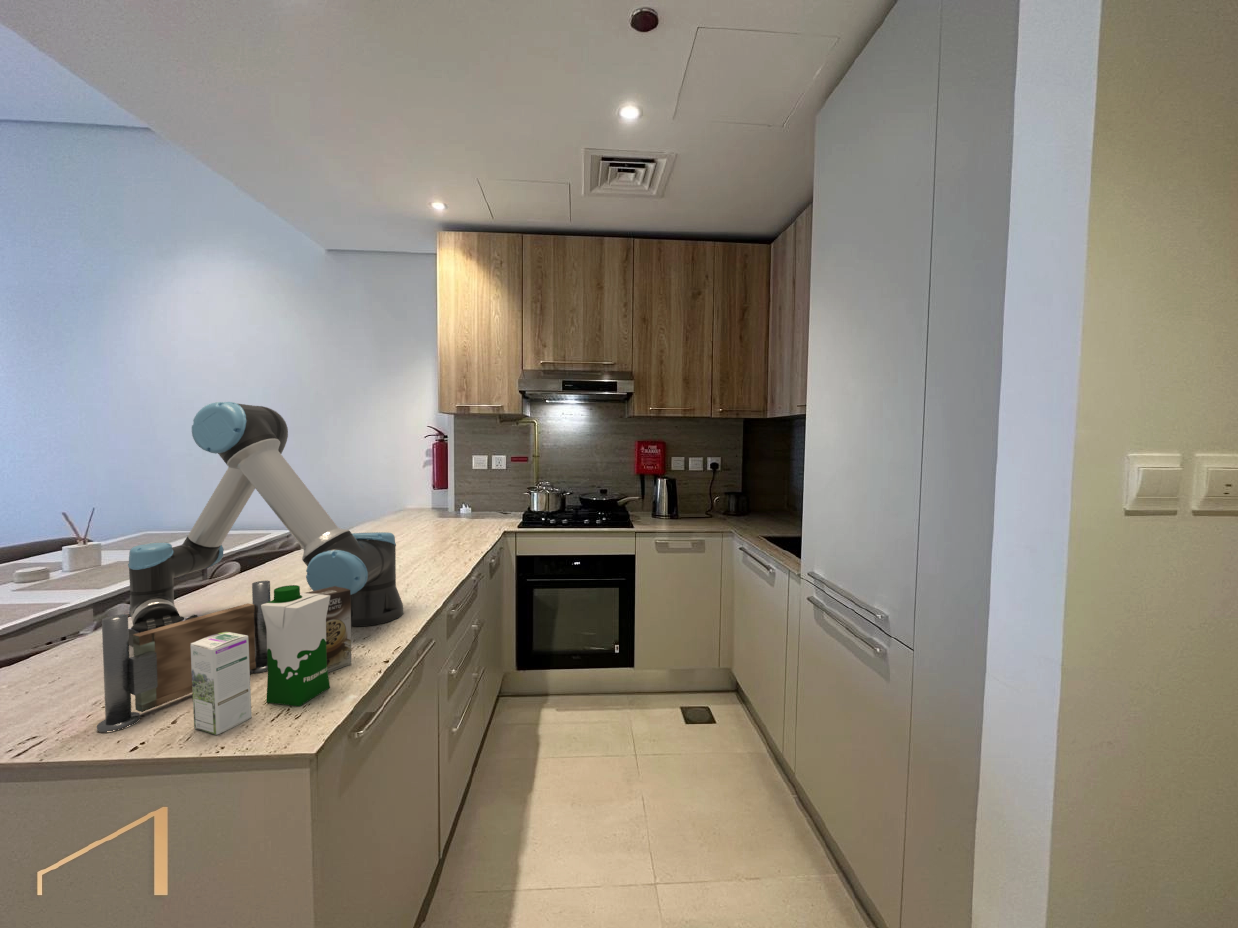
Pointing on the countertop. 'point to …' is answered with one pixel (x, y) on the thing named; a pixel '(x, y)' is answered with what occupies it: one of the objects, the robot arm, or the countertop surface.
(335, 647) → the brown cookie box
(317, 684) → the milk carton
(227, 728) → the syrup box
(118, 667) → the latch post
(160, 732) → the countertop surface
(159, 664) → the gate
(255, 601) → the hinge post
